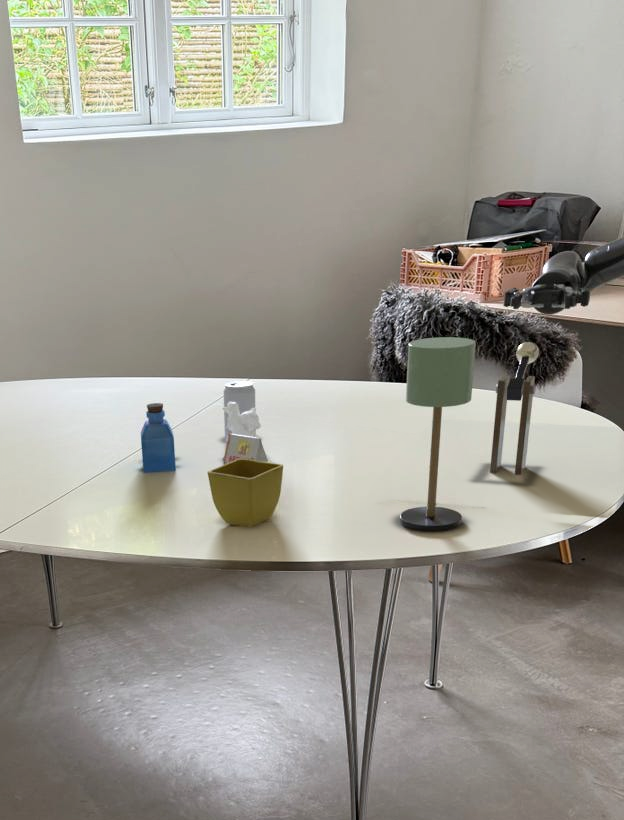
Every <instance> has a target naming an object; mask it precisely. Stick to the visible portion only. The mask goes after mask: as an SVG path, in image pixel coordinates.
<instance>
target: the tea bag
mask: <svg viewBox="0 0 624 820" xmlns="http://www.w3.org/2000/svg"><path fill="white" fill-rule="evenodd" d="M225 447H226V448H225V452H224V454H223V455H224V456H223V460H222V461H223V465H225V464H228V463H230V462H232V461H235V460H237V459H248V460H254V461H260V462H268V463H269V461H268V460H269V459H268V457H267V454H266V452H265V448H264V445H263V441H262V438H261V437H257V436H256V437H250V436H243V435H237V434H229V435H228V442H227V441H226V446H225Z"/></svg>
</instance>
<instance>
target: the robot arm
mask: <svg viewBox="0 0 624 820" xmlns="http://www.w3.org/2000/svg"><path fill="white" fill-rule="evenodd" d="M621 278H624V236H620V237H619V238H616V239H614V240H612V241H609V242H606V243H605V244H602V245H599V246H597V247H595V248H593V249H592V250H590V251H589V252H588V253H587V254H586V256H585V258H584V262H582V258H581V257H580V255H579V254H578V253H577V252H576V251H573V250H565V251H562V252H561V251H560V252H558V253H557V254H554V255H553V256H551V257H550V258H549V259H548V260H547V261H546V262H545V264H544V265H543V267H542V269H541V275H539V277H538V278H536V280H535V281H534V282H533V283H532V285H531V286H529V287H524V288H523V290H522V291H520V289H519V288H517V287H512V288H509V289H508V290H506V291H504V293H503V295H504V296H503V305H502V306H503V307H505V308H509V307H510V308H511V307H512V308H513V310H518V309H519V308H524V309H531V308H533V309H534V310H535V311H537V312H538V313H540V314H543V315H555V314H558V313H560V312H562V311H564V310H570V309H571V308H575V307H577V305H579V304H580V307H584V308H585V307H588V306H589V303H590V299H591V294H592V293H593V292H595V290H597V289H599V288H600V287H602V286H604V285H606V284H608V283H611V282H614V281H616V280H619V279H621Z"/></svg>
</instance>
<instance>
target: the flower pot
mask: <svg viewBox="0 0 624 820" xmlns="http://www.w3.org/2000/svg"><path fill="white" fill-rule="evenodd" d="M283 473H284V464H282V463H281V464H280V463H275V462H269V461H268V462H260V461H254V460H248V459H237V460H235V461H232V462H230V463H228V464H225V465H224V464H223V465H219V466H217V467H215V468H213V469H210V470H207V477H208V483H209V487H210V493H211V498H212V502H213V504H214V507H215V510H216V511H217V513H218V514H219V516H220V518H221V519H222V520H223V521H224V523H225V524H227V525H232V526H237V527H241V526H242V527H247V528H253V527H255V526H257V525H259V524H261V523H264V522H267V521H269V520H270V518H271V517H272V515H273V514H274V512H275V510H276V508H277V506H278V503H279V500H280V496H281V493H282V491H281V490H282V482H283Z"/></svg>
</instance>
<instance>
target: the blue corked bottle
mask: <svg viewBox="0 0 624 820" xmlns="http://www.w3.org/2000/svg"><path fill="white" fill-rule="evenodd" d="M146 409H147V411H146V412H145V413H146V415H145V416H146V418H147V420H145V421H144V423H143V426H142V429H141V431H140V444H141V445H140V447H141V458H142V470H143V473H156V472H169V471H176V470H177V468H176V452H175V451H176V450H175V436H174V431H173V429H172V427H171V425H170V423H169V422H168V420H167V419H166V418H165V419H164V417H165V416H166V415H165V414H166V412H165V410H164V403H161V402H153V403H148V404H146Z"/></svg>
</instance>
